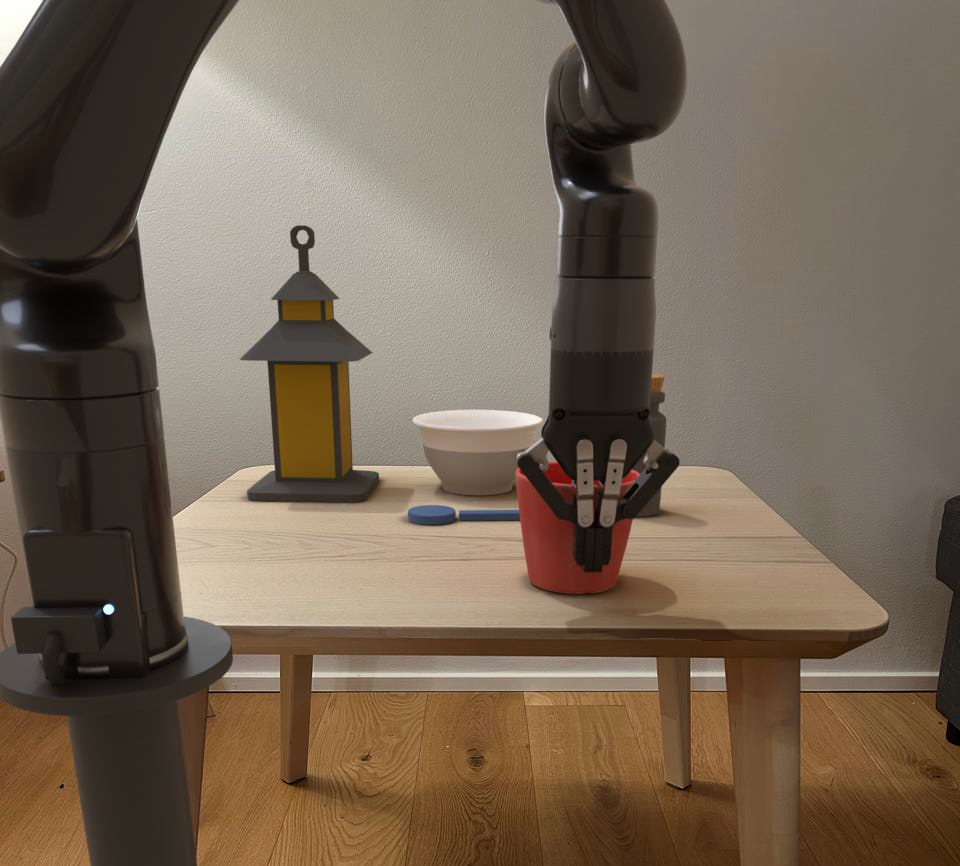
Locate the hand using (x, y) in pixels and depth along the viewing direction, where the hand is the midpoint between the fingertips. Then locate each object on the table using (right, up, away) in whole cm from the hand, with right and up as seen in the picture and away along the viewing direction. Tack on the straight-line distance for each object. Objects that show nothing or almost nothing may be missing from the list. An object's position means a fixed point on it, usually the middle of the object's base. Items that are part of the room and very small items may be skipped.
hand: (591, 569), depth 77 cm
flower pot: (-1, -1, +8) cm, 8 cm away
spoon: (-8, +8, +29) cm, 31 cm away
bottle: (+9, +9, +33) cm, 35 cm away
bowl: (-9, +13, +44) cm, 47 cm away
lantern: (-29, +13, +43) cm, 53 cm away
